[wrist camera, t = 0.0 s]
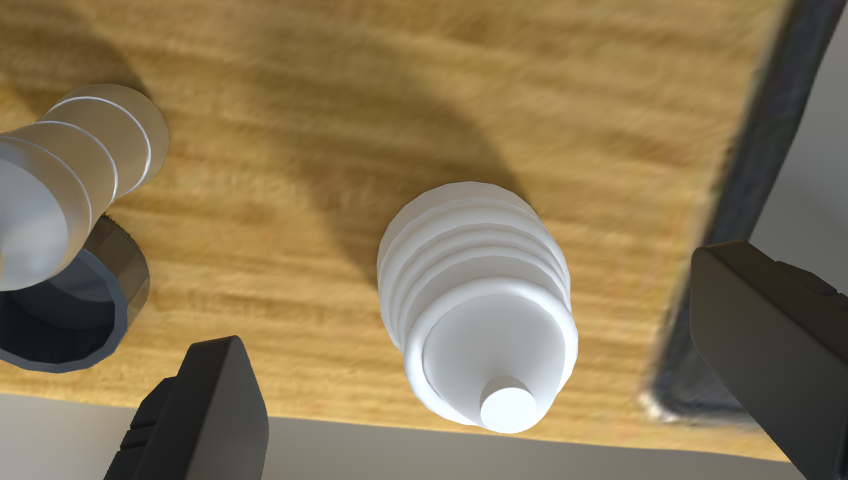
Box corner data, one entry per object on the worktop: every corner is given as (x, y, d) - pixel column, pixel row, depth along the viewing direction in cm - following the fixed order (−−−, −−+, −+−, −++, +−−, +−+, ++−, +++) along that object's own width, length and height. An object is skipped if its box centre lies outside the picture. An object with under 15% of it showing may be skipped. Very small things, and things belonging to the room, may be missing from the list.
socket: (-38, 219, 39) (-84, 249, 35) (117, 191, 39) (89, 217, 35) (31, 346, 44) (-3, 386, 39) (170, 320, 44) (150, 356, 40)
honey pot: (343, 234, 42) (334, 403, 26) (507, 148, 41) (606, 271, 25) (426, 362, 48) (461, 569, 31) (573, 290, 46) (690, 468, 30)
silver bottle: (43, 113, 37) (-260, 256, 19) (131, 54, 36) (-98, 146, 18) (117, 196, 39) (-86, 392, 21) (200, 143, 39) (62, 302, 21)
